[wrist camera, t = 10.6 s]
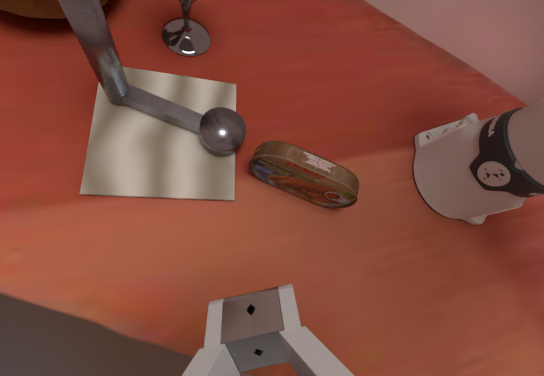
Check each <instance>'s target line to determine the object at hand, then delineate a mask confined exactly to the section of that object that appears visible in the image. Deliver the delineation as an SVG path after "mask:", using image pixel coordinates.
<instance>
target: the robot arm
mask: <svg viewBox="0 0 544 376" xmlns="http://www.w3.org/2000/svg"><path fill="white" fill-rule="evenodd" d="M415 147H416V155H415V159H414V177H415V181H416V184H417V187H418V189H419V191H420V193H421V195H422V196H423V198H424V199H425V201H426V202H427V203H428V204H429V205H430V206H431V207H432V208H433V209H434V210H435V211H437V212H438V213H440V214H441V215H443V216H446V217H449V218H454V219H463V220H465V221H467V222H468V223H470V224H473V225H479V224H482V223H483V222H484V220H485V219H486V217H487V215H491V214H495V213H499V212H503V211H508V210H512V209H516V208H519V207H521V206H522V204H523V203H524V201H525V200H526V197H532V196H541V195H544V98H543V99H541V100H539V101H537V102H535V103H533V104H531V105H529V106H527V107H524V108H516V109H513V110H511V111H507V112H504V113H502V114H500V115H498V116H497V117H495V116H493V117H490V118H486V119H483V120H480V121H479V120H478V117H477V115H476V114H475V113H472V114H470V115H468V116H466V117H464V118H462V119H461V120H459V121H456V122H452V123H449V124H446V125H443V126H440V127H437V128H434V129H430V130H427V131H424V132H421V133H419V134H417V135H416V136H415ZM287 362H289V364H290V365H291V367H292V368H293V369H294V371H295V372H296V373H297V375H298V376H354V375H353V374H352V373H351V372H350V371H349V370H348V369H347V368H346V367H345V366H344V365H343V364H342V363H341V362H340V361H339V360H338V359H337V358H336V357H335V356H334V355H333V354H332V353H331V352H330V351H329V350H328V349H327V348H326V346H325V345H324V344H323V343H322V342H321V341H320V340H319V339H318V338H317V337H316V336H315V335H314V334H313V333H312V332H311V331H310V330H309V329H308V328H307V327H306V326H301V321H300V316H299V312H298V308H297V303H296V299H295V295H294V290H293V286H292V284H288V285H283V286H279V287H278V286H277V287H273V288H269V289H264V290H260V291H256V292H252V293H250V294H244V295H239V296H234V297H229V298H223V299H219V300H214V301H210V303H209V305H208V312H207V321H206V330H205V339H204V348H201V349H199V350H198V352H197V353H196V355H195V356H194V358H193V359H192V361H191V362H190V364H189V365H188V367H187V368H186V370H185V371H184V373H183V374H182V376H240V372H244V371H249V370H253V369H257V368H261V367H264V366H270V365H276V364H281V363H287Z"/></svg>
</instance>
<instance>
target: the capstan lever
mask: <svg viewBox="0 0 544 376" xmlns="http://www.w3.org/2000/svg"><path fill="white" fill-rule="evenodd" d="M58 2H59V3H60V5H61V7H62V9H63V11H64V13H65V15H66V17H67V19H68V21H69V23H70V25H71V27H72V29H73V31H74V33H75V35H76V37H77V39H78V41H79V43H80V45H81V47H82V49H83V51H84V53H85V55H86V57H87V59H88V61H89V63H90V65H91V67H92V69H93V71H94V73H95V75H96V77H97V79H98V81H99V83H100V85H101V87H102V89H103V91H104V93H105V95H106V97H107V99H108V100H109V101H110V102H111V103H113V104H116V105H124V104H125V105H127V106H130V107H132V108H135V109H137V110H140V111H142V112H145V113H147V114H150V115H152V116H155V117H157V118H160V119H163V120H165V121H168V122H170V123H173V124H175V125H178V126H180V127H183V128H185V129H188V130H190V131H193V132H195V133H198V134H199V138H200V141H201V144H202V145H203V147H204V148H205V149H206V150H207V151H208V152H210V153H212V154H214V155H217V156H228V155H231V154H233V153H235V152H236V151H238V149H239V148H240V147H241V145H242V142H243V140H244V137H245V134H246V126H245V123H244V120H243V119H242V117H241V116H240V115H239V114H238V113H237V112H235V111H234V110H231V109H229V108H225V107H216V108H213V109H210V110H208V111H207V112H206V113H205V114H204V115H203V114H200V113H198V112H195V111H193V110H190V109H188V108H186V107H183V106H181V105H178V104H176V103H173V102H171V101H169V100H166V99H164V98H161V97H159V96H156V95H154V94H152V93H149V92H147V91H144V90H142V89H140V88H137V87H135V86H132V85H130V84H128V81H127V78H126V75H125V72H124V69H123V66H122V64H121V61H120V58H119V55H118V52H117V49H116V46H115V43H114V41H113V38H112V35H111V32H110V29H109V26H108V23H107V20H106V18H105V15H104V12H103V9H102V6H101V3H100V0H58Z"/></svg>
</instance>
